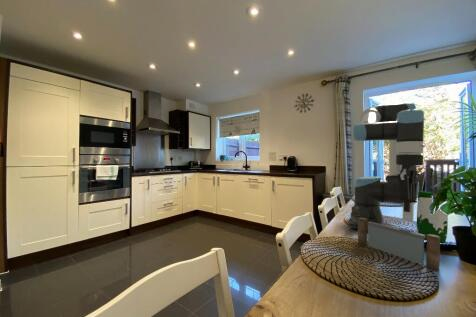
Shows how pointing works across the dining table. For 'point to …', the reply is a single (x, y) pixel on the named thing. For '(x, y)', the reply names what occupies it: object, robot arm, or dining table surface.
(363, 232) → the hinge post
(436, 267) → the post
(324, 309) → the dining table surface
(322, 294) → the dining table surface
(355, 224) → the salt shaker
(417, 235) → the gate
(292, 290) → the dining table surface
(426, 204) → the milk carton
